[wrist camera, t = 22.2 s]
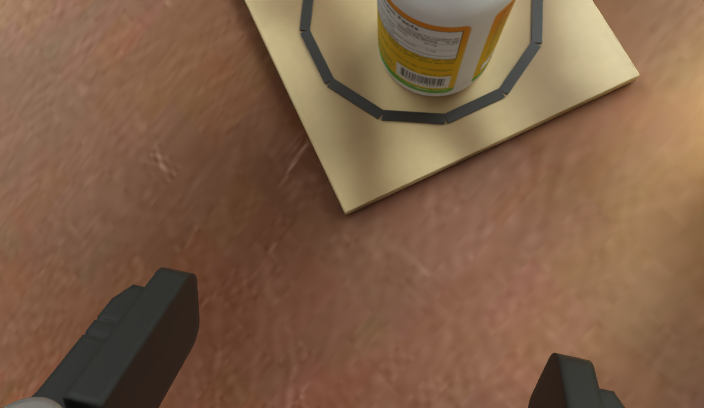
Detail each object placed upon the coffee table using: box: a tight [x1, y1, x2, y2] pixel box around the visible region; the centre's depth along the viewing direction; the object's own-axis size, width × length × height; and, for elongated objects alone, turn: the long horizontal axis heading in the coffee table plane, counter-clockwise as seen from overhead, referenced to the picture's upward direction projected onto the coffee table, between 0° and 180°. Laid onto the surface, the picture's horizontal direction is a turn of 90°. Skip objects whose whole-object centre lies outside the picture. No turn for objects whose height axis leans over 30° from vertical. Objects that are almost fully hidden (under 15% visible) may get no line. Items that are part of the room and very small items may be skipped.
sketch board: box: [244, 0, 640, 215], centre depth 26 cm, size 15×15×1 cm
